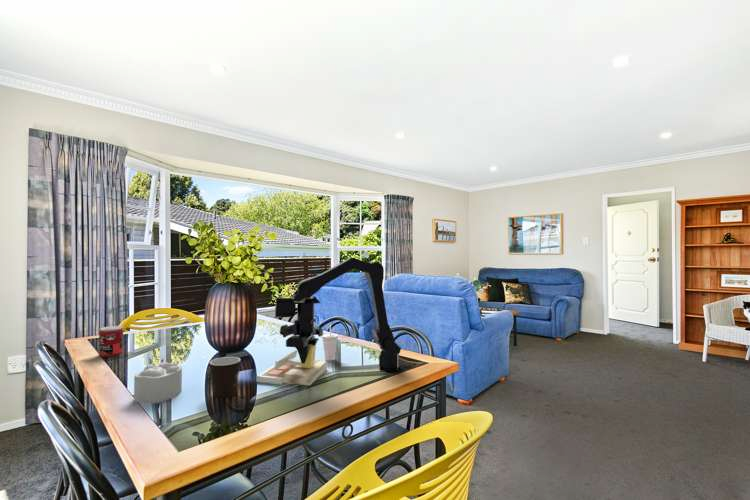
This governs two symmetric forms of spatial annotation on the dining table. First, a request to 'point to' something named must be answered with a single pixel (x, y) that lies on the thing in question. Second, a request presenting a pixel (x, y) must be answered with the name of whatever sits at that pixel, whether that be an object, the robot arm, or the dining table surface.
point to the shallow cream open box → (305, 373)
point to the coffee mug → (225, 376)
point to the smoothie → (329, 345)
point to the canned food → (110, 341)
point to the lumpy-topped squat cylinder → (158, 383)
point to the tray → (269, 377)
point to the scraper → (290, 360)
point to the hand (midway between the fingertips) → (305, 361)
